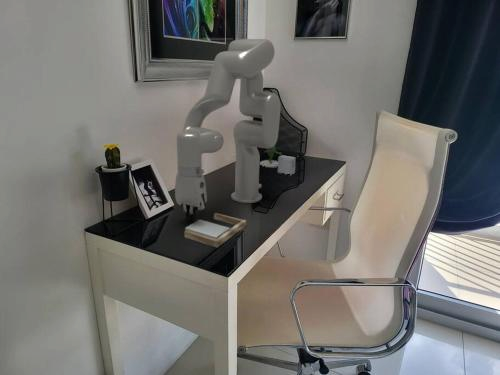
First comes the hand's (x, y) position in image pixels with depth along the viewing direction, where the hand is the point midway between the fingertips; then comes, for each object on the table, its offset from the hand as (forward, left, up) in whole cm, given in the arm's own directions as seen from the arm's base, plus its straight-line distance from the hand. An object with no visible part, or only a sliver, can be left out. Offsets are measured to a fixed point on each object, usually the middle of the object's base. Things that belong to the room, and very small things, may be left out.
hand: (190, 222), depth 115 cm
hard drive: (0, +7, -2) cm, 7 cm away
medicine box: (-74, +4, -1) cm, 74 cm away
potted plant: (-85, -10, -1) cm, 86 cm away
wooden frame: (0, +10, -1) cm, 10 cm away
